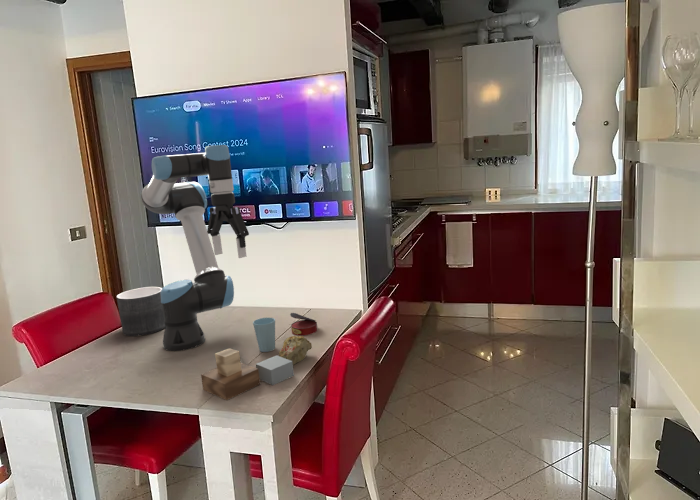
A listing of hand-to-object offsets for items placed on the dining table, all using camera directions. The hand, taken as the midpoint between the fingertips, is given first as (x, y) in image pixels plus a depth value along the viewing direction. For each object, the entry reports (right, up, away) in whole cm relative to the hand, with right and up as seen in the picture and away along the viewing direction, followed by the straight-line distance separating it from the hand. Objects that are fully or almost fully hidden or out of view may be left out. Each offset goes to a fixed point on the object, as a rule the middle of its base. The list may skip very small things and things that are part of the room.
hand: (230, 255), depth 180 cm
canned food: (+23, -29, +24) cm, 44 cm away
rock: (+21, -35, -4) cm, 41 cm away
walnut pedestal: (+5, -39, -21) cm, 44 cm away
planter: (-45, -31, +43) cm, 70 cm away
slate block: (+18, -37, -16) cm, 44 cm away
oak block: (+5, -34, -22) cm, 41 cm away
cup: (+11, -33, +8) cm, 36 cm away
